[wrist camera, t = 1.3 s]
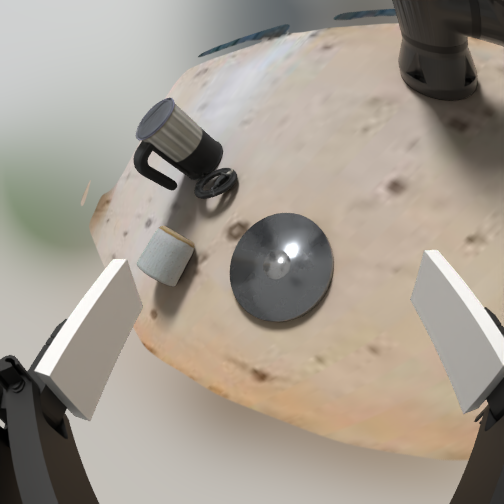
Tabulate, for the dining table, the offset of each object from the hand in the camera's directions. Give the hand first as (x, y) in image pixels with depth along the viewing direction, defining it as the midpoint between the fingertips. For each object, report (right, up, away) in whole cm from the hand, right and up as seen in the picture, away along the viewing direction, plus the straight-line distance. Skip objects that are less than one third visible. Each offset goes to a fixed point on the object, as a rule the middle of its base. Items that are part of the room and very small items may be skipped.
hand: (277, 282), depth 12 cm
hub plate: (+3, -1, +27) cm, 27 cm away
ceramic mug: (-14, 0, +38) cm, 41 cm away
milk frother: (-8, +17, +40) cm, 44 cm away
